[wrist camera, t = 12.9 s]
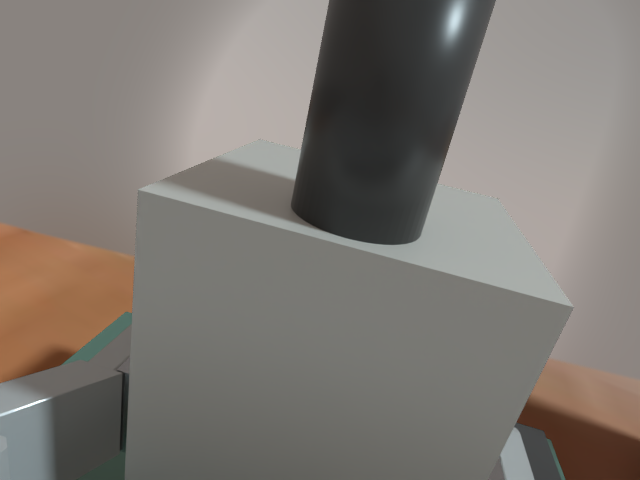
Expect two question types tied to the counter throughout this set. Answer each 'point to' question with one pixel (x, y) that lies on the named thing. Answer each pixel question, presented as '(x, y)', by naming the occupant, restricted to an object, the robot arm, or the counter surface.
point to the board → (112, 472)
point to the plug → (340, 282)
